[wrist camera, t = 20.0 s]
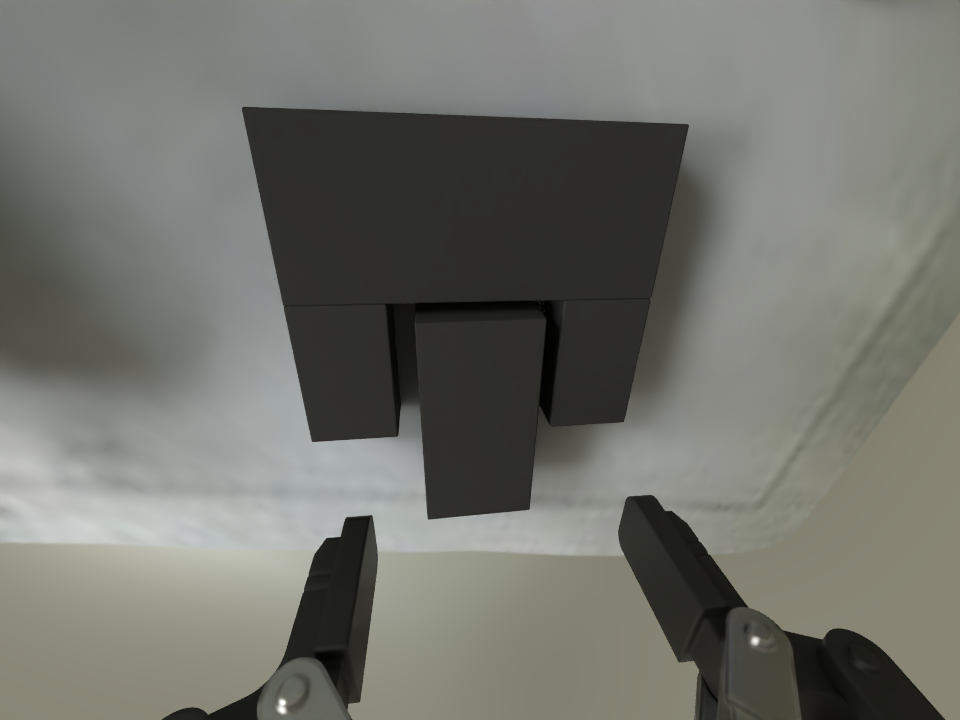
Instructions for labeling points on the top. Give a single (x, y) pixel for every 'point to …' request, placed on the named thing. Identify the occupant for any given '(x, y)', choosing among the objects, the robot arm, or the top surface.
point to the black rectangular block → (479, 403)
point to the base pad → (461, 245)
